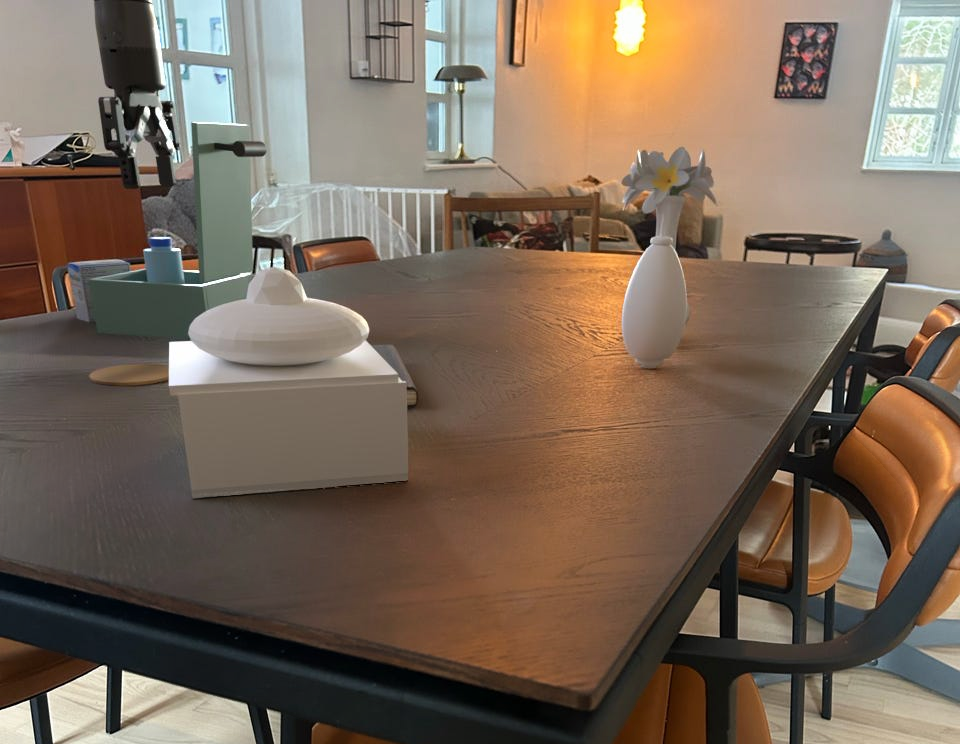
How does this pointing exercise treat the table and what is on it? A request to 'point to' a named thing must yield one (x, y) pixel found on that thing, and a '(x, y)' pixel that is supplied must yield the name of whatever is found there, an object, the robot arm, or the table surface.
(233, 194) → the lid
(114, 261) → the medicine box
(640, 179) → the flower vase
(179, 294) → the cool box
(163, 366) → the coaster
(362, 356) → the white knob-topped box
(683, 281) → the white teardrop bottle
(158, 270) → the water bottle
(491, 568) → the table surface
